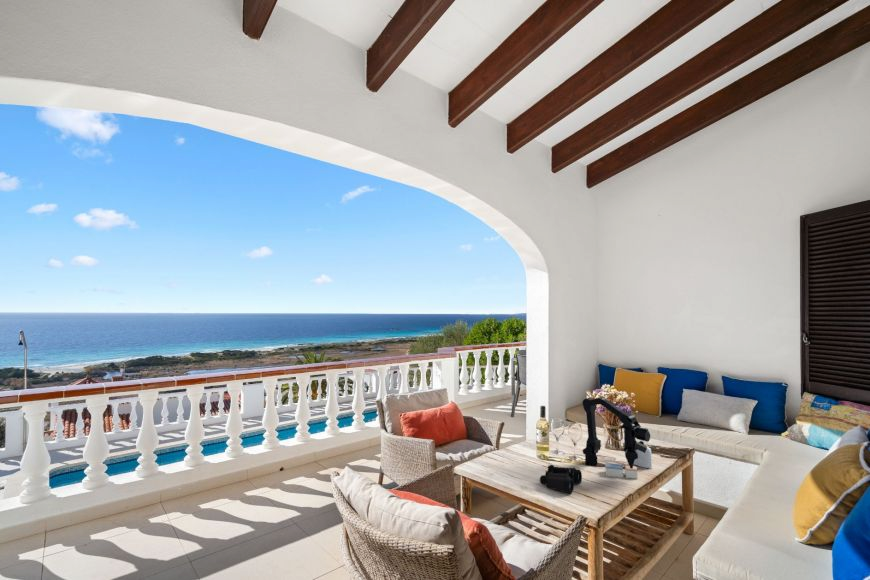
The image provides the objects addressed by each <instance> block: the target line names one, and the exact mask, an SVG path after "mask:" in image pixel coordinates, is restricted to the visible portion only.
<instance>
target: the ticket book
mask: <svg viewBox="0 0 870 580" xmlns="http://www.w3.org/2000/svg"><path fill="white" fill-rule="evenodd" d="M604 467H605V476H609V477H616V478H626V476H625V472H624V467H623V464H620V463H612V462H605V465H604Z"/></svg>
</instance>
